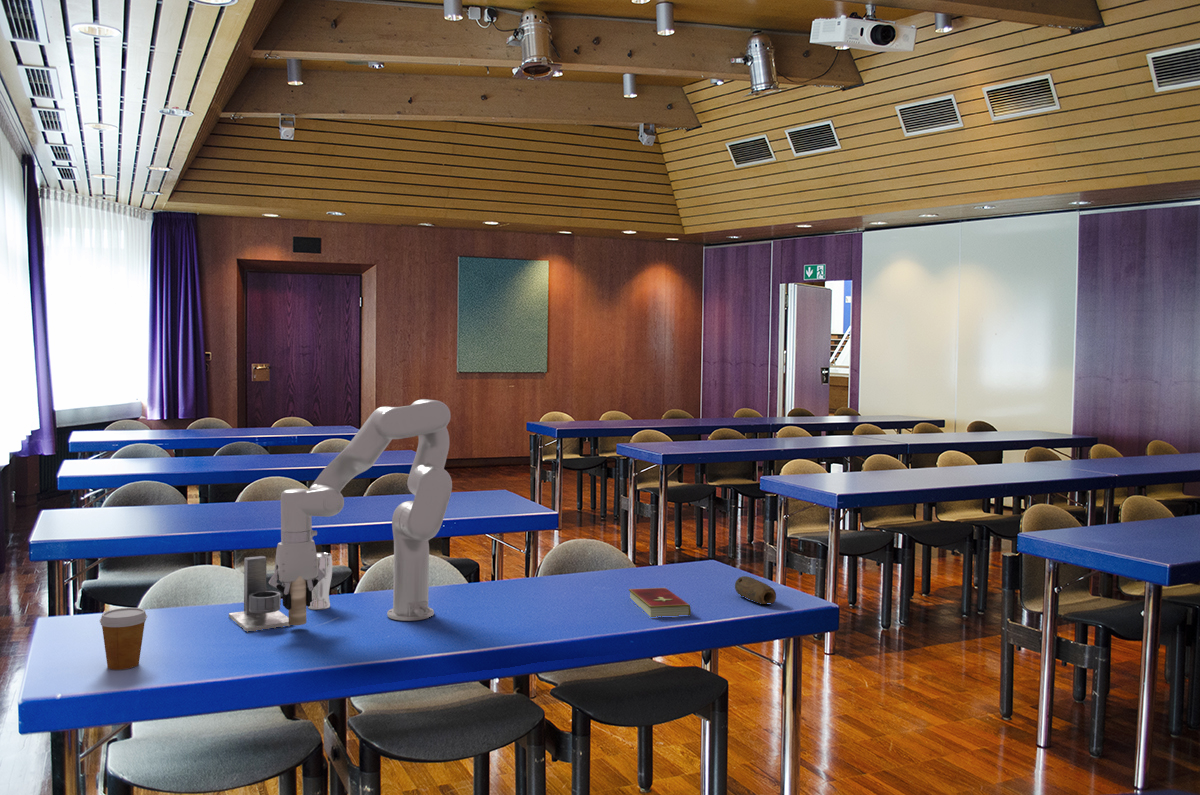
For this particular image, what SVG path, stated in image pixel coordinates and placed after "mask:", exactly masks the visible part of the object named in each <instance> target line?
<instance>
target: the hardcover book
mask: <svg viewBox="0 0 1200 795" xmlns="http://www.w3.org/2000/svg"><path fill="white" fill-rule="evenodd" d="M628 591H629V598H631V599H632V600H633V601H634V602H635V603H636V604H637V605H638V606H639V607H641V608H642V609H643V610H644V611H645V612H646V613H647V614H648V615H649V616H650V617H656V616H657V617H658V616H661V617H662V616H679V615H690V616H691V611H692V610H691V605H690V603H688V602H686V601H685V600H683V599H682V598H681V597H680V596H677V594H675V593H674V592H673V591H671V590H669V589H668V588H666V587H653V588H652V587H651V588H650V587H649V588H648V587H647V588H629V589H628ZM650 617H649V618H650Z"/></svg>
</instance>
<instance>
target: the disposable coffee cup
mask: <svg viewBox="0 0 1200 795" xmlns="http://www.w3.org/2000/svg"><path fill="white" fill-rule="evenodd" d="M147 618H148V615H147V613H146V610H145V609H143V608H141V607H124V608H115V609H110V610H108V611H105V612H103V613H102V615H101V617H100V619H99V623H100V625H101V627H102V629H101V630H102V635H103V636H102V637H103V642H104V650H105V651H104V652H105V658H106V664H107V665H106V666H107V669H108V670H113V671H117V670H118V671H122V670H129V669H132V668H135V667H137V666H139V665H140V658H141V652H142V643H143V636H144V630H145V623H146V620H147Z"/></svg>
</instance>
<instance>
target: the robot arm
mask: <svg viewBox="0 0 1200 795" xmlns="http://www.w3.org/2000/svg"><path fill="white" fill-rule="evenodd" d="M451 415H452V414H451V410H450V408H449V407H448V405H447V404H446V403H444V402H442V401H440V400H436V399H427V398H422V399H421V398H420V399H418V400H417V399H416V400H415V401H413V402H412V403H411V404H410V405H404V406H387V405H386V406H385V405H384V406H379V407H378V408H376V409H375V410H374V411H373V412H372V413H371V414H370V415H369V417H368V418H367V419H366V421H365V422H364V423H363V424H362V426H361V427H360V428H359V430H358V431H357V433H356V434H355V435H354V437H352V439H351V440H350V442H349V443H348V444H347V445H346V446H345V448H344V449H343V450H342V451H340V453H338V454H337V456H335V458H333V459H332V460H331V461H330V462H329V463H328V464H327V466H325V468H324V469H322V471H321V472H320V473H319V475H318V476H317V478H316V479H315V480H314V482H312V484H311V485H310V487H309V488H308V489H307V488H290V489H285V490H283V491H282V492H281V493H280V494H281V495H280V538H281V539H280V542H278V543H277V546H276V552H275V560H274V573H273V574H272V576H271V577H270V579H269V580H268V584H269V585H270V586H271V587H273V588H275V589H277V590H278V592H280V593H282V594H281V595H282V606H283V607H284V608H285V609H286V610H288V611H289V610H290V609H291V595H290V594H289V588H290V584H291V582H294V581H296V580H297V578H298V577H299V576H301V577H302V579H303V580H306V607H307V608H308V607H309V606H310V602H312V590H313V589H314V587H315V586H316V585H317V584H318V582H319V581H321V580H322V579H323V578H324V577H325V575H324V574H323V572H322V571H321V570H320V569H319V567H318V560H317V553H318V552H317V549H316V544H315V540H314V538H313V537H314V536H315V537H316V536H317V535H318V531H317V530H313V529H312V528H313V526H312V523H313V522H312V517H326V518H329V517H333V516H336V515H338V514H339V513H341V511H342V510H343V509H344V506H345V499H344V495H343V494H342V493H341V491H342V490H343V489H344V488H345V486H346V485H347V484H349V482H350V481H352V479H354V478H355V477H357V476H358V475H360V474H362V473H364V472H366V471H368V470H369V469H370V468H372V467H373V466H374V465H375V463H376V462H377V460H378V458H379V457H380V456H381V455H382V453H383V452H384V451H385V450H386V448H387V447H388V446H389V444H390V443H391V442H392V440H401V439H406V438H414V437H418V444H417V449H416V452H415V456H414V459H413V462H412V464H411V468H410V471H409V474H408V477H407V484H406V485H407V489H408V490H409V492H410V493H411V494H412V495H413V496H414V498H413V500H407V501H403V502H401V503H400V504H398V505H397V507H395V509H394V511H393V514H392V519H391V527H392V528H391V529H392V536H393V588H392V589H393V594H392V595H393V596H392V597H393V600H392V601H393V603H392V606H393V607H392V608H391V609H389V610H387V612H386V614H387V618H389V619H391V620H395V621H403V622H411V621H415V622H416V621H423V620H427V619H430V618H432V617H433V616H435V615H434V614H435V612H434V611H435V610H434V609H433V608H431V607H429V592H430V591H429V586H430V585H429V584H430V583H429V581H430V574H429V572H430V569H429V568H430V544H429V541H430V540H431V539H433V538H434V537H436V536H437V534H438V533H439V531H440V529H441V526H442V524H443V521H444V517H445V515H446V512H447V509H448V505H449V502H450V498H451V495H452V490H453V481H452V476H451V475H450V473H449V472H448V471H447V470H446V469H445V466H446V462H447V458H448V455H449V450H450V434H449V431H448V428H447V427H448V424H449V423H450V421H451V418H452V416H451ZM311 579H312V580H311ZM277 581H279V583H278V582H277ZM280 583H281V584H280ZM431 616H432V617H431ZM429 617H430V618H429Z"/></svg>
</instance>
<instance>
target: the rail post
mask: <svg viewBox="0 0 1200 795" xmlns="http://www.w3.org/2000/svg"><path fill="white" fill-rule="evenodd" d="M289 594H290V595H291V609H290V610H288V617H289V625H294V626H302V625H303V626H304V625H305V624H307V622H308V621H307V606H306V580H303V579H302V577H301V576H299V577H298V578H297V580H296V581H294V582H291V584H290V588H289Z"/></svg>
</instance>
